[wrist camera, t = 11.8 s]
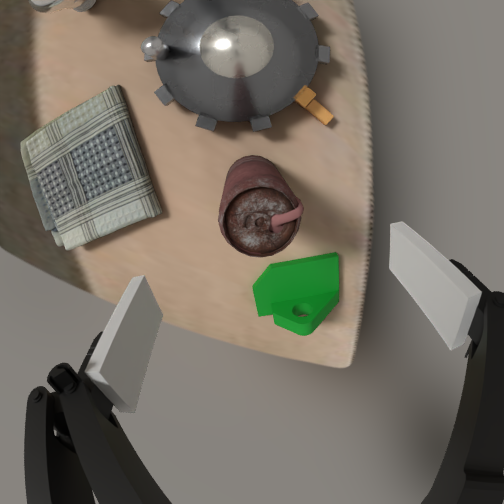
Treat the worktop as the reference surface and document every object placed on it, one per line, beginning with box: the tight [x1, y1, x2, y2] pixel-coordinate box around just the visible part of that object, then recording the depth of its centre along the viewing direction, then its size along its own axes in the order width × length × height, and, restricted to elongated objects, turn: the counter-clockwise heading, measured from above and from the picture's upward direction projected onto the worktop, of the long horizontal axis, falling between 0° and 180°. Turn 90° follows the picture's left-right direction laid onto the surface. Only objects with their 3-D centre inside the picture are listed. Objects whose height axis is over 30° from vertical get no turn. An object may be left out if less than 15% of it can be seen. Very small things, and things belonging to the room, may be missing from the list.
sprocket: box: [141, 0, 330, 132], centre depth 22 cm, size 19×20×5 cm
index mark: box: [305, 99, 334, 125], centre depth 28 cm, size 3×1×1 cm, turn 52°
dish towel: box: [21, 85, 162, 250], centre depth 29 cm, size 19×18×3 cm
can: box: [218, 155, 304, 257], centre depth 26 cm, size 6×6×14 cm
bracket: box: [253, 252, 339, 336], centre depth 36 cm, size 12×8×7 cm, turn 100°
